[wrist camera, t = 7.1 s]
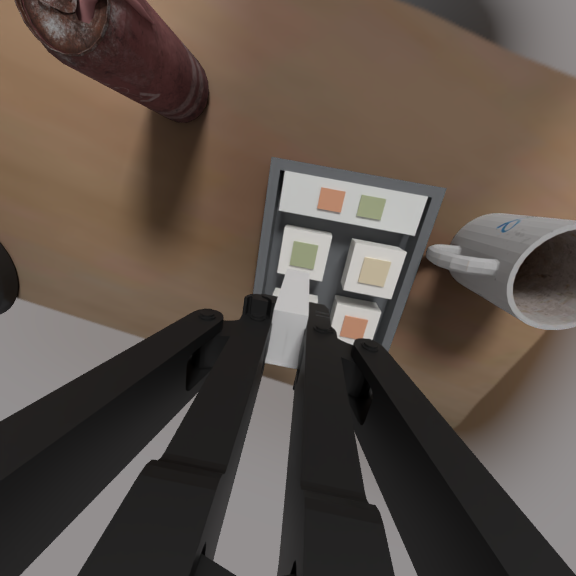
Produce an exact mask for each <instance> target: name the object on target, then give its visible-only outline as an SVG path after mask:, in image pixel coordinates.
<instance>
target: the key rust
mask: <svg viewBox="0 0 576 576" xmlns="http://www.w3.org/2000/svg"><path fill="white" fill-rule="evenodd" d="M380 315H381V311H380V309H379V307H378V305H377V304H376V303H375V302H370V301H365V300H359V299H354V298H349V297H344V296H339V295H335V298H334V302H333V306H332V310H331V314H330V322H331V327H333V328H334V329H335V331H336V332H337V338H338V339H340V340H342V341H344V342H346V343H349V344H351V345H353V343H354V341H355V340H356V339H358V338H365V339H371V340H373V337H374V334H375V331H376V328H377V325H378V322H379V318H380Z"/></svg>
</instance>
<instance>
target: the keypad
mask: <svg viewBox="0 0 576 576" xmlns="http://www.w3.org/2000/svg"><path fill="white" fill-rule="evenodd" d="M446 189H447V188H441V187H436V186H430V185H424V184H419V183H413V182H408V181H402V180H397V179H391V178H386V177H380V176H375V175H369V174H364V173H358V172H353V171H347V170H341V169H336V168H330V167H325V166H319V165H314V164H308V163H303V162H297V161H292V160H286V159H281V158H275V157H272V158H271V166H270V173H269V180H268V188H267V195H266V202H265V210H264V217H263V224H262V232H261V239H260V246H259V254H258V261H257V268H256V276H255V283H254V290H253V294H267V295H273V293H274V290H275V288H281V286H282V283H283V280H284V277H285V274H281V273H277V270H278V264H279V258H280V252H281V246H282V240H283V234H284V228H285V226H286V225H287V224H288V225H294V226H299V227H304V228H310V229H315V230H320V231H326V232H331V234H332V240H331V244H330V249H329V253H328V257H327V262H326V266H325V270H324V275H323V279H322V281H317V280H311V279H309V294H311V295H317V296H318V304H323V305H325V306H326V307H327V308H328V309H329V315H330V314H331V310H332V306H333V302H334V298H335V295H339V296H344V297H349V298H354V299H359V300H365V301H370V302H375V303H376V304H377V305H378V307H379V309H380V311H381V315H380V318H379V322H378V325H377V328H376V331H375V334H374V337H373V340H374V341H376V342H377V343H379V344H381V345H382V346H383V347H384V348H385V349H386V350H387V352H388V351H389V348H390V346H391V343H392V340H393V337H394V334H395V332H396V329H397V326H398V323H399V320H400V318H401V315H402V312H403V309H404V306H405V304H406V301H407V298H408V295H409V292H410V290H411V287H412V284H413V281H414V278H415V276H416V273H417V270H418V267H419V264H420V262H421V259H422V256H423V253H424V250H425V248H426V245H427V242H428V239H429V236H430V234H431V231H432V228H433V225H434V222H435V220H436V217H437V214H438V211H439V208H440V206H441V203H442V200H443V197H444V194H445V192H446ZM352 238H354V239H359V240H364V241H370V242H375V243H380V244H385V245H391V246H396V247H399V248H401V249H402V250H404V251H406V252H407V254H406V257H405V260H404V263H403V266H402V269H401V272H400V275H399V278H398V281H397V284H396V287H395V290H394V293H393V296H392V299H387V298H381V297H376V296H371V295H366V294H361V293H356V292H351V291H346V290H343V288H342V284H341V279H342V275H343V271H344V267H345V263H346V259H347V255H348V251H349V247H350V244H351V240H352Z"/></svg>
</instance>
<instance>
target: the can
mask: <svg viewBox="0 0 576 576" xmlns="http://www.w3.org/2000/svg"><path fill="white" fill-rule="evenodd" d="M15 3H16V6H17V8H18V10H19V12H20V14H21V16H22V18H23V21H24V23H25V24H26V25H27V27H28V28H29V29H30V31H31V32H32V33H33V34H34V36H35V37H36V38H37V39H38V40H39V41H40V42H41V43H42V44H43V45H44V47H45V48H46V49H47V51H48V52H49V53H51V54H52V55H53V56H54V57H56V58H57V59H58V60H59V61H61V62H62V63H63V64H65V65H67V66H69V67H71V68H73V69H75V70H77V71H79V72H80V73H82V74H84V75H86V76H88V77H90V78H92V79H94V80H96V81H98V82H100V83H101V84H103V85H105V86H107V87H109V88H111V89H113V90H115V91H117V92H119V93H121V94H122V95H124V96H126V97H128V98H130V99H132V100H134V101H136V102H138V103H140V104H142V105H143V106H145V107H147V108H149V109H151V110H153V111H155V112H157V113H159V114H161V115H163V116H164V117H166V118H168V119H171V120H173V121H176V122H189V121H192V120H194V119H196V118H197V117H198V116H199V115H200V114H201V113H202V112H203V110H204V108H205V106H206V104H207V100H208V95H209V89H208V80H207V77H206V74H205V71H204V69H203V68H202V66H201V64H200V63H199V61H198V60H197V59H196V58H195V57H194V55H193V54H192V53H191V52H190V51H189V50H188V49H187V47H186V46H185V45H184V44H183V43H182V42H181V40H180V39H179V38H178V37H177V36H176V35H175V34H174V32H173V31H172V30H171V29H170V28H169V27H168V25H167V24H166V23H165V22H164V21H163V20H162V19H161V17H160V16H159V15H158V14H157V13H156V12H155V10H154V9H153V8H152V7H151V6H150V5H149V4H148V2H147V1H146V0H15Z"/></svg>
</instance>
